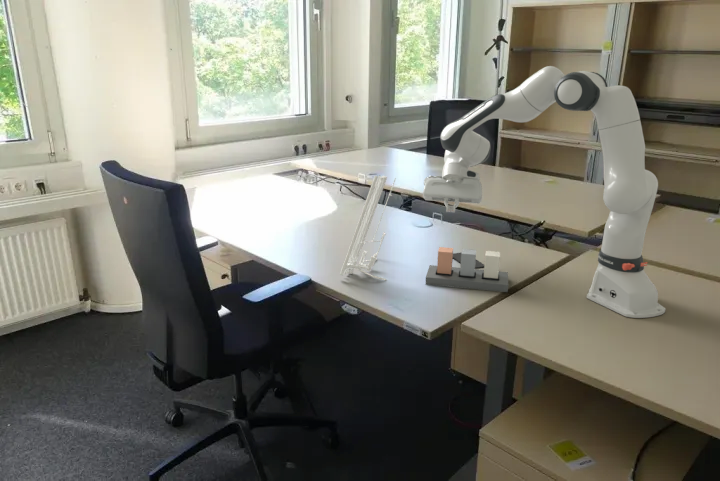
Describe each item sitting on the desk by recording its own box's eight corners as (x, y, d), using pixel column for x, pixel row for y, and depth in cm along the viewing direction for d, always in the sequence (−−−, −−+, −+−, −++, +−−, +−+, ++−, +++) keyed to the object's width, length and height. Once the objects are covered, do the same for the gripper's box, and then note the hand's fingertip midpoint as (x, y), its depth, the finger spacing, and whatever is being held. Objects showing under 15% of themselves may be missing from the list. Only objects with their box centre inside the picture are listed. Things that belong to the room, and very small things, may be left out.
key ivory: (497, 273, 175) (499, 251, 172) (497, 278, 171) (499, 256, 168) (483, 272, 176) (485, 250, 173) (483, 277, 172) (485, 255, 169)
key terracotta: (451, 269, 178) (453, 248, 176) (450, 274, 174) (452, 252, 172) (438, 267, 179) (439, 247, 177) (437, 272, 175) (438, 251, 173)
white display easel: (371, 268, 197) (404, 179, 190) (402, 284, 190) (437, 193, 183) (336, 272, 177) (372, 173, 169) (370, 291, 170) (408, 188, 163)
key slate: (474, 271, 176) (476, 250, 174) (474, 276, 172) (475, 254, 170) (460, 270, 177) (462, 248, 175) (459, 275, 173) (461, 253, 171)
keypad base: (507, 279, 178) (507, 272, 177) (507, 292, 168) (508, 285, 167) (429, 271, 184) (429, 265, 183) (425, 284, 174) (425, 277, 173)
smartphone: (468, 268, 186) (447, 254, 199) (468, 271, 186) (447, 256, 199) (487, 266, 188) (465, 251, 201) (486, 268, 188) (465, 254, 201)
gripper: (424, 170, 187) (419, 204, 181) (483, 173, 182) (480, 208, 176) (425, 180, 192) (420, 213, 187) (483, 183, 188) (480, 217, 182)
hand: (450, 211), depth 181 cm, fingers closed
